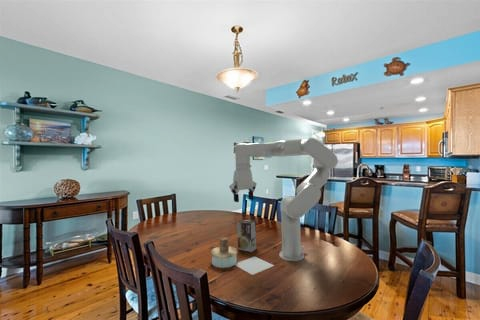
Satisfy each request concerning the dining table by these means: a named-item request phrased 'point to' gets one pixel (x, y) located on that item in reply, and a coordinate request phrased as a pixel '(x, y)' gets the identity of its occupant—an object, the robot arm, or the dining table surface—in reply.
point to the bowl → (224, 262)
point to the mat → (253, 265)
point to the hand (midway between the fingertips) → (243, 200)
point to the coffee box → (246, 235)
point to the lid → (224, 250)
